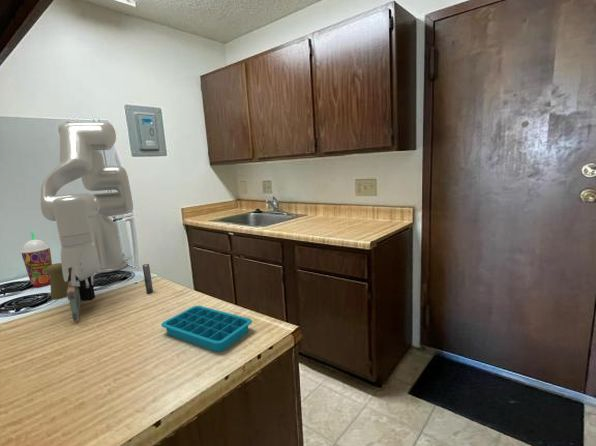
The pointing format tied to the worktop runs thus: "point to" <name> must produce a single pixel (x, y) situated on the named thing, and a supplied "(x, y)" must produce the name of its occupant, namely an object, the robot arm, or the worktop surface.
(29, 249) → the smoothie
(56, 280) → the cork
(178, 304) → the worktop surface
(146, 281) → the gate posts
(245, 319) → the ice cube tray
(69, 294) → the gate
